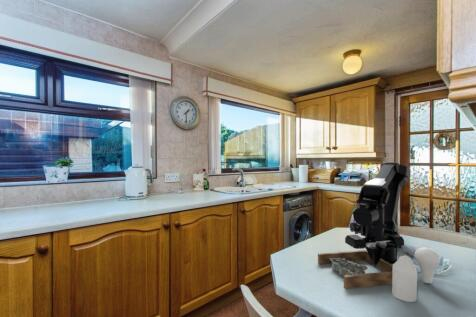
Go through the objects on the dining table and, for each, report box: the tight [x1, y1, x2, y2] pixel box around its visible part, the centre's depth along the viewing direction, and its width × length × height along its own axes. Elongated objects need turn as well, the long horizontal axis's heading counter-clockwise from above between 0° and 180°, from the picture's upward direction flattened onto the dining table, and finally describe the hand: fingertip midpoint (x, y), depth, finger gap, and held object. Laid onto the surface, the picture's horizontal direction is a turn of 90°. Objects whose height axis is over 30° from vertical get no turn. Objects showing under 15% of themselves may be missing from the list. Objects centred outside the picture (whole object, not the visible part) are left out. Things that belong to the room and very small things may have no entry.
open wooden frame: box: [317, 249, 393, 290], centre depth 79 cm, size 20×17×4 cm
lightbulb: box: [414, 246, 441, 284], centre depth 72 cm, size 6×6×11 cm
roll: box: [391, 254, 418, 303], centre depth 65 cm, size 6×12×6 cm
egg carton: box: [330, 258, 368, 276], centre depth 79 cm, size 11×8×4 cm
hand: (374, 264), depth 80 cm, fingers closed
